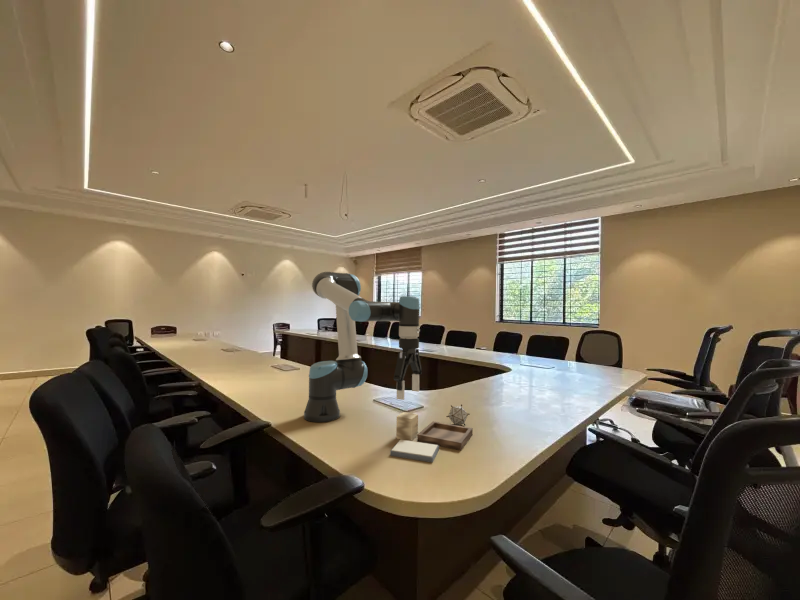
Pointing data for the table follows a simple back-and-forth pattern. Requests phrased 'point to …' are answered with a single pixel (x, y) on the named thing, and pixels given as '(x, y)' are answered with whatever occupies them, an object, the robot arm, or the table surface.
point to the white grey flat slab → (415, 450)
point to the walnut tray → (445, 435)
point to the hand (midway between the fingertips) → (408, 395)
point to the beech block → (407, 426)
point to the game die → (458, 415)
